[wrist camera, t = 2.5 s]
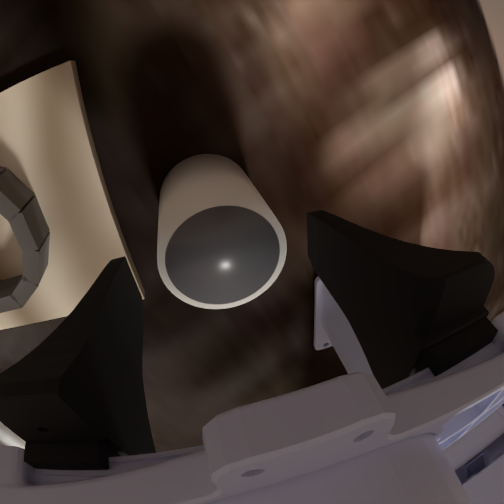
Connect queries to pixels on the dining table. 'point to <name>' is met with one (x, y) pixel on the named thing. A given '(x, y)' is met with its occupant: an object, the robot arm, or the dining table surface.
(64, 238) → the stand
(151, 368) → the dining table surface
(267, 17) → the dining table surface
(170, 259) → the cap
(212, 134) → the dining table surface
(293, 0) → the dining table surface
